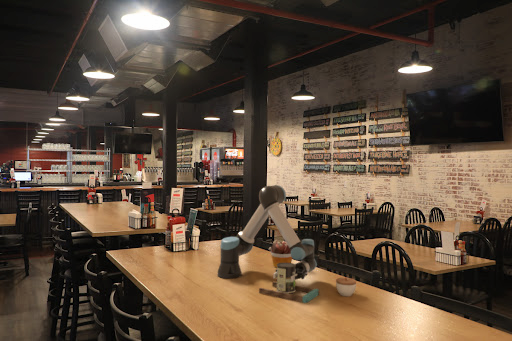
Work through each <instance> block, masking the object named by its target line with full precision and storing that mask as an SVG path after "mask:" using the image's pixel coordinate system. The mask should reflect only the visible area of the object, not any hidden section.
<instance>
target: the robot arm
mask: <svg viewBox="0 0 512 341" xmlns="http://www.w3.org/2000/svg"><path fill="white" fill-rule="evenodd" d="M286 197H287V193H286V190H285V189H284V188H283V186H282V185H281V186H280V185H277V184H275V185H266V186H264V187H262V188H261V189H260V190H259V194H258V199H259V205H258V207H257V209H256V210H255V212H254V213H253V215H252V216H251V218H250V219H249V221H248V222H247V224H246V226H245V227H244V228H243V230H240V231H239V232H238V233H237V235H236V236H227V237H224V238H222V239H221V241H220V246H219V247H220V264H219V267H218V270H217V277H219V278H223V279H238V278H241V277H242V269H241V266H240V256H243V255H247V254H248V253H250V252H251V251H252V250H253V247H254V243H255V238H256V236H257V234H258V232H259V231H260V230H261V228H262V226H263V225H264V224H265V222H266V221H267V219H268V218H269V217H270V218H271V220H272V222H273V223H274V225H275V226H276V228H277V230H278V231H279V233H280V235H281V236H282V238H283V241H285V242H286V243H287V245H288V246H289V248H290V250H291V257H292V260H294V261H298V262H296V263H294V264H295V265H296V274H295V275H293V276H291V282H293V281H295V282H296V280H300V279H301V280H304V279H305V278H306V276H307V275H308V273H310V272H313V271H314V270H315V269H316V268H317V266H318V264H317V261H316V259H315V240H314V239H312V238H303V239H302V240H301V239H300V238H299V237H298V235H297V233H296V232H295V230H294V228H293V227H292V225H291V224H290V222H289V220H288V218H287V217H286V216H285V214H284V212H283V211H282V209H281V206H280V204H283V203H284V202H285V200H286V199H287V198H286ZM272 276H273V279H277V268H275V272H273V275H272Z"/></svg>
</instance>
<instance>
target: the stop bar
mask: <svg viewBox="0 0 512 341" xmlns="http://www.w3.org/2000/svg"><path fill="white" fill-rule="evenodd" d="M313 289H314V290H312V291H311V292H309V293H305V294H304V295H302V296H303V300H302V302H301V303H304V304H307V303H308V302H310V301H311V300H313V299H315V298H317V296H319V295H318V294H319V293H320V292H319V293H318V291H320V290H319V288H313Z"/></svg>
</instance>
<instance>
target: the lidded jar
mask: <svg viewBox="0 0 512 341" xmlns="http://www.w3.org/2000/svg"><path fill="white" fill-rule="evenodd" d="M335 283H336V284H335V285H336V290H337V292H338V293H339V295H340V296H342V297H352V296H353V294H354V293H355V292H356V289H357V288H356V287H357V280H356V279H354V278H351V277H347V276H345V277H337V278H336V279H335Z"/></svg>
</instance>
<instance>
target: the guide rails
mask: <svg viewBox="0 0 512 341" xmlns="http://www.w3.org/2000/svg"><path fill="white" fill-rule="evenodd" d="M272 287H273V288H277V281H272ZM314 289H315V288H310V287H305V286H304V287H303V286H299V285H295V292H299V293H304V294H307V293H309V292H311V291H312V290H314ZM319 291H320V290H319ZM319 291H318V293H320V292H319ZM258 293H259V294H263V295H267V296H271V297H276V298H282V299H285V300H289V299H290V301H294V302H300V303H303V302H302V300H303V296H304V295H298V294H293V293H284V292H279V291H277V290H274V289H268V288H264V287H263V288H262V287H260V288H259V289H258ZM318 296H319V294H318Z"/></svg>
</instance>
